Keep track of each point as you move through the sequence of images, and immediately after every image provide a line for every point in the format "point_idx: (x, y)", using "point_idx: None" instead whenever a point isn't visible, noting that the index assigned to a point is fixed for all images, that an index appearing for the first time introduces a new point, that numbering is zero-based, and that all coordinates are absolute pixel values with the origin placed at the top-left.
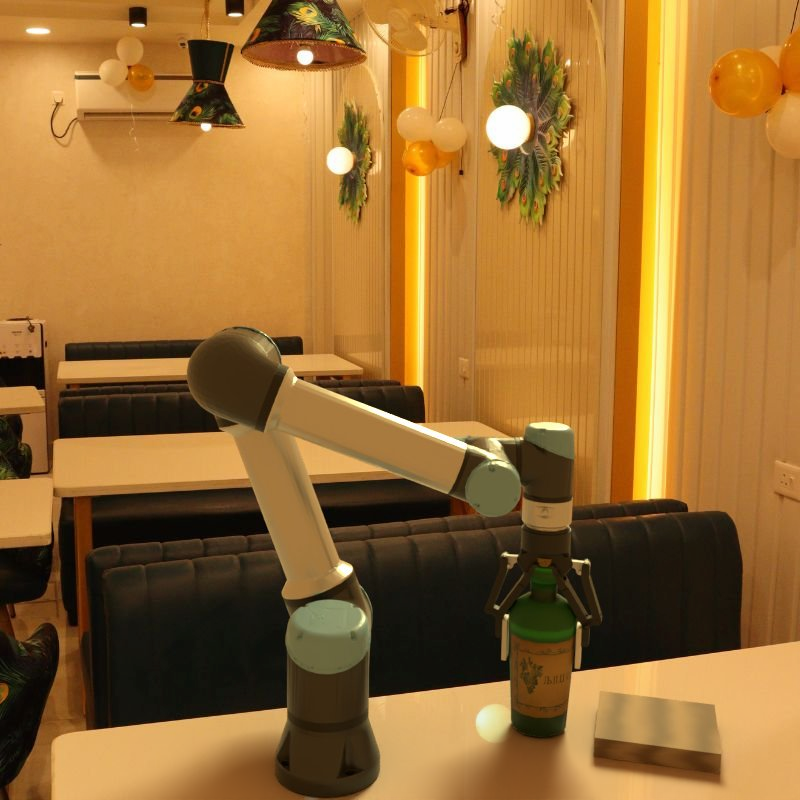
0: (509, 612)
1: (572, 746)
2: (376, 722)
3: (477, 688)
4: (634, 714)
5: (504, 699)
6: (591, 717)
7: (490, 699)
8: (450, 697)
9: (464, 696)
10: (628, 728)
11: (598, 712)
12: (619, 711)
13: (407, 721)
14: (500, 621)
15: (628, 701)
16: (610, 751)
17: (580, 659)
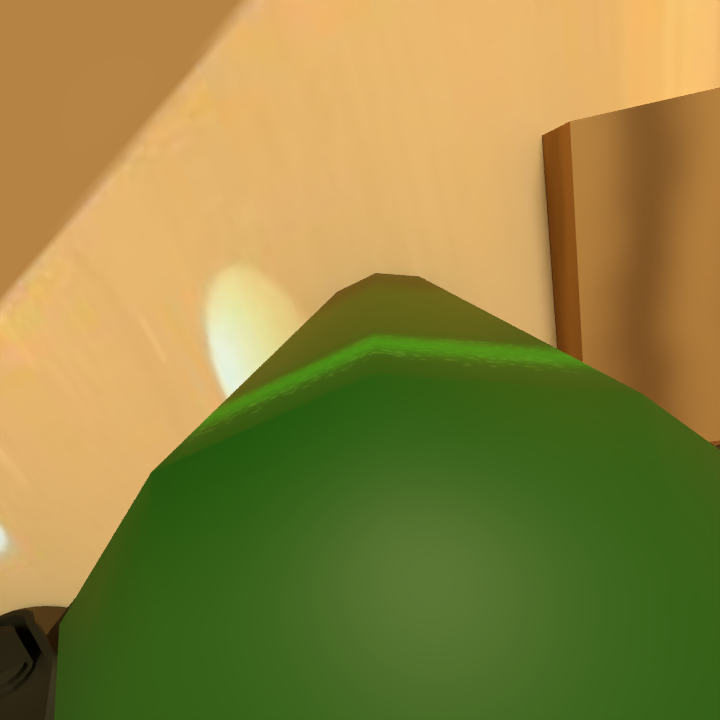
0: None
1: None
2: (22, 503)
3: (127, 191)
4: (709, 262)
5: (238, 227)
6: (527, 218)
7: (200, 249)
8: (91, 294)
9: (122, 268)
10: (687, 368)
11: (583, 306)
12: (655, 264)
13: (79, 469)
14: None
15: (687, 165)
16: None
17: None
